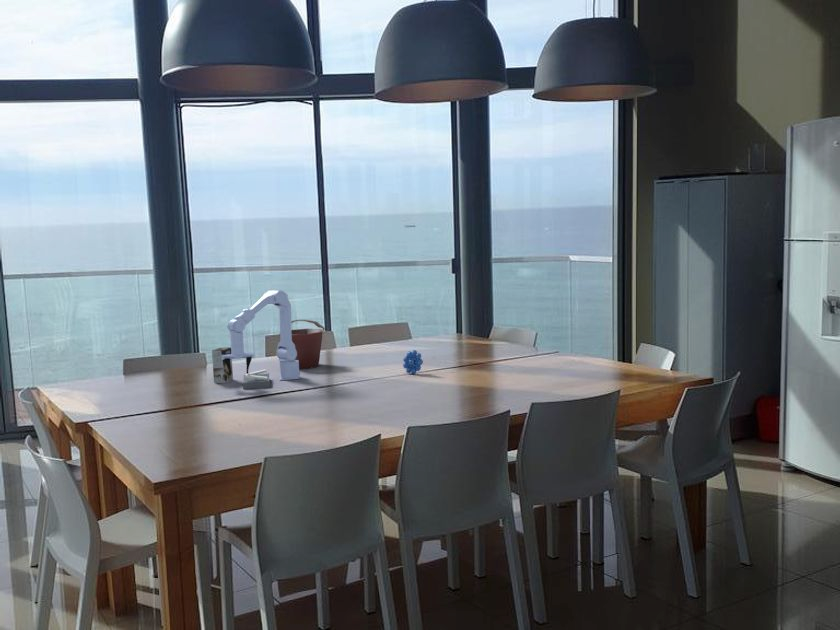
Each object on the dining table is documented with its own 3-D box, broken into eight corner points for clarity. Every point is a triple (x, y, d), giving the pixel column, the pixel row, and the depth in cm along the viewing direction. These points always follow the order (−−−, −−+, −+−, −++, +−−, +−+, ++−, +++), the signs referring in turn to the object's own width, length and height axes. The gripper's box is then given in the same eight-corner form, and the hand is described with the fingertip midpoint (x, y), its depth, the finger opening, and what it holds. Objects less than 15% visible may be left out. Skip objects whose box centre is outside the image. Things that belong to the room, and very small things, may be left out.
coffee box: (225, 383, 402) (223, 350, 400) (213, 383, 404) (211, 350, 402) (233, 379, 411) (231, 347, 409) (221, 379, 413) (219, 347, 411)
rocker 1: (266, 371, 404) (266, 368, 404) (266, 372, 401) (266, 369, 401) (246, 376, 403) (245, 373, 403) (246, 377, 400) (245, 374, 400)
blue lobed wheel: (428, 373, 408) (427, 349, 406) (420, 376, 402) (419, 351, 401) (408, 371, 414) (407, 347, 413) (400, 374, 409) (399, 349, 408)
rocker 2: (266, 379, 394) (267, 376, 394) (266, 380, 391) (267, 377, 391) (245, 377, 392) (245, 374, 392) (245, 378, 389) (245, 375, 389)
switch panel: (269, 379, 408) (269, 372, 408) (269, 387, 388) (269, 380, 388) (244, 381, 406) (243, 374, 405) (243, 389, 386) (243, 382, 386)
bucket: (334, 364, 443) (332, 317, 440) (307, 371, 424) (305, 323, 421) (299, 361, 456) (296, 316, 453) (271, 368, 437) (268, 321, 434)
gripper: (220, 347, 383) (222, 376, 384) (253, 345, 385) (254, 374, 387) (221, 345, 390) (223, 373, 391) (253, 343, 392) (254, 371, 394)
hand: (239, 373), depth 390 cm, fingers open, 7 cm apart
